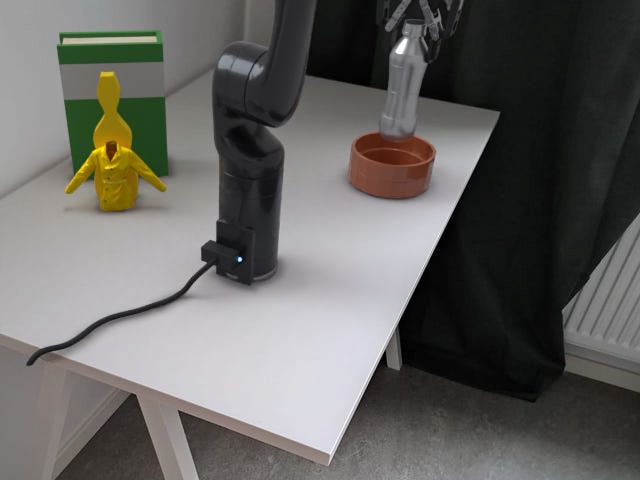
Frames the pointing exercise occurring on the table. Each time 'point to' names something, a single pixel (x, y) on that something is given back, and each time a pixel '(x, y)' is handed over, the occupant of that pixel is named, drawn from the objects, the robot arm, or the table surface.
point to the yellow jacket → (113, 155)
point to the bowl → (391, 165)
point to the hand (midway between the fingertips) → (409, 57)
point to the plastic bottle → (404, 83)
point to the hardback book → (135, 97)
